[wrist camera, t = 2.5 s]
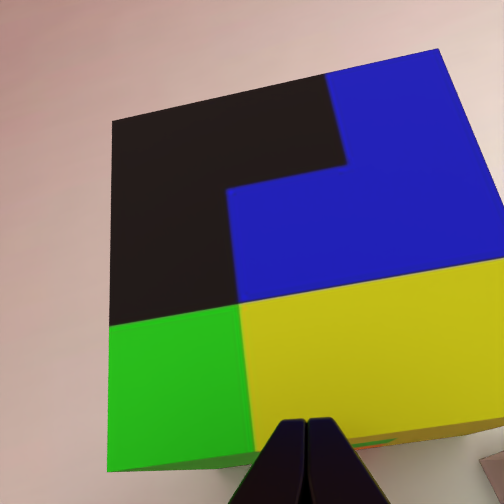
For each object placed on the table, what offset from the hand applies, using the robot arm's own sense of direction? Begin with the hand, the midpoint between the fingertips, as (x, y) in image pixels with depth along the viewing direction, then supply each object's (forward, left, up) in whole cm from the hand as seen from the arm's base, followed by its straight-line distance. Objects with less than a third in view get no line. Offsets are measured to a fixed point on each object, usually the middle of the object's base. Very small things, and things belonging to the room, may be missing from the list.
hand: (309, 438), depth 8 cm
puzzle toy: (+5, -2, -13) cm, 14 cm away
